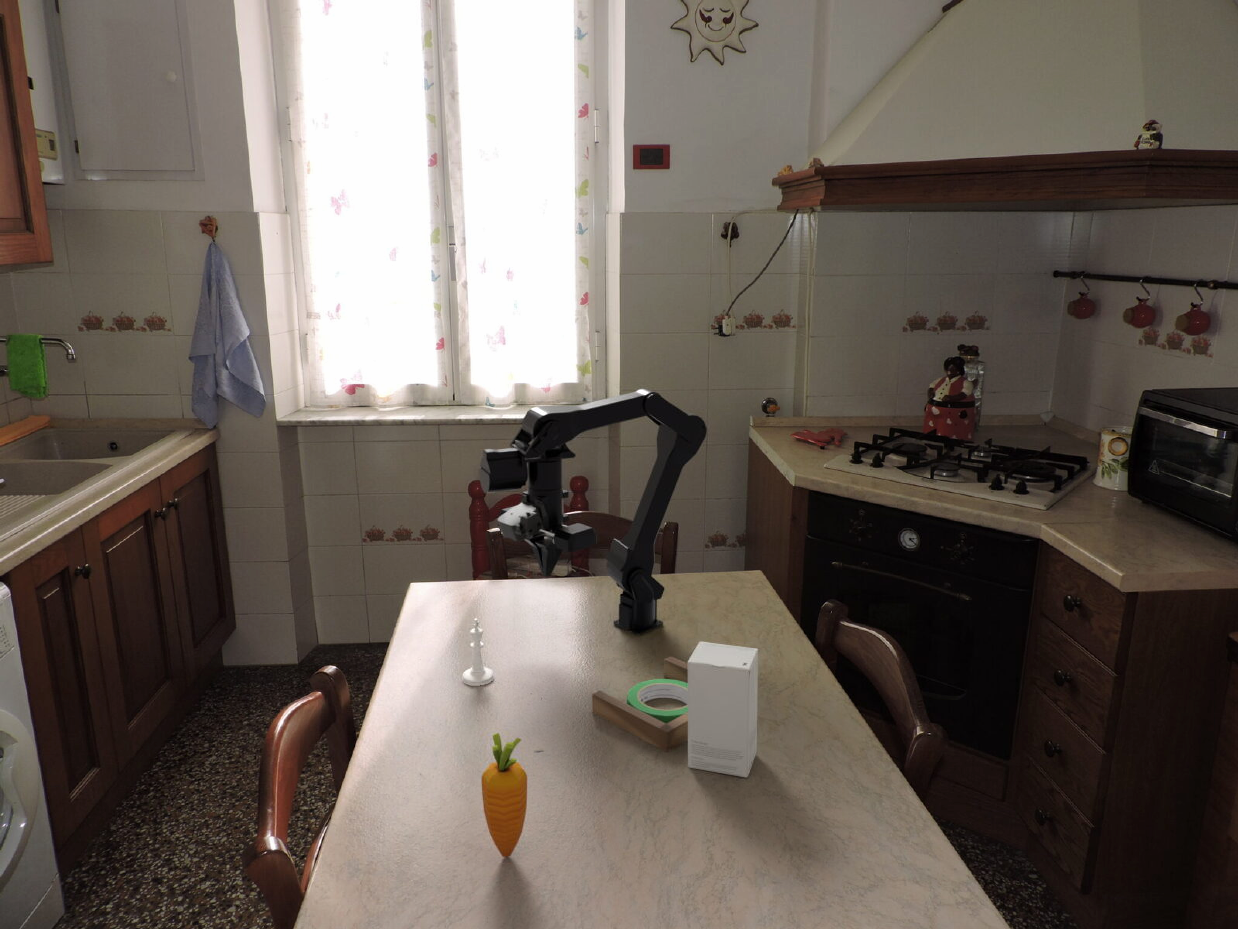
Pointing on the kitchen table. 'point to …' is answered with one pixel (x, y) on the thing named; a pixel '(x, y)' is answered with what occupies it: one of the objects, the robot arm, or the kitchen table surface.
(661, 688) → the tape roll
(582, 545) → the robot arm
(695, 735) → the skincare box
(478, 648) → the chess piece
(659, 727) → the corral
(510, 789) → the carrot
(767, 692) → the kitchen table surface
